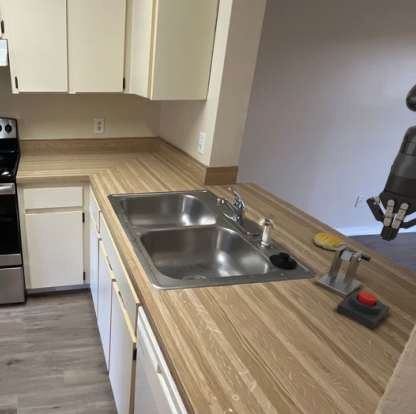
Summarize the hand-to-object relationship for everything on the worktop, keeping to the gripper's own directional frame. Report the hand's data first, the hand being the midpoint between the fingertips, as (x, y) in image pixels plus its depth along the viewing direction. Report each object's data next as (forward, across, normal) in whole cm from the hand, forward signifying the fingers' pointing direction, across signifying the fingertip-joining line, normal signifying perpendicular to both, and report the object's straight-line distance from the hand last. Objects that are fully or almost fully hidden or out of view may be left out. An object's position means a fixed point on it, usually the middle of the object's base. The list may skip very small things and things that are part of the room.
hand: (386, 239), depth 82 cm
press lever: (+13, +8, -9) cm, 17 cm away
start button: (+17, -1, +3) cm, 17 cm away
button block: (+20, -1, +4) cm, 21 cm away
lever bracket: (+20, +8, -5) cm, 22 cm away
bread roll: (+21, +20, -28) cm, 40 cm away
